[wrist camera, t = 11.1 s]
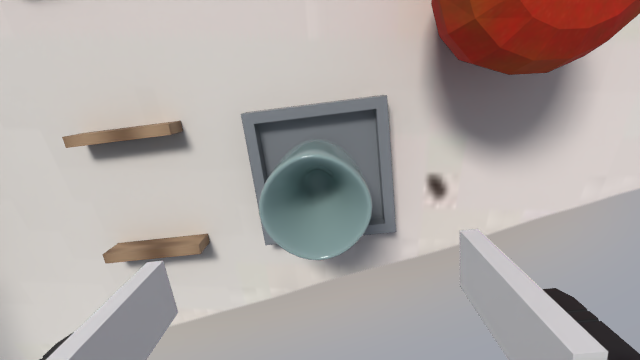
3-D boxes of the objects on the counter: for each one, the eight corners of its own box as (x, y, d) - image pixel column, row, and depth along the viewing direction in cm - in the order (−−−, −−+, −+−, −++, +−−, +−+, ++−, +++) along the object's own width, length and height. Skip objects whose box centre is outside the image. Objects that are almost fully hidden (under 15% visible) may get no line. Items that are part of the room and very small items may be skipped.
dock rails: (120, 251, 35) (105, 263, 33) (82, 133, 32) (62, 137, 29) (209, 242, 35) (200, 253, 32) (180, 120, 31) (168, 123, 29)
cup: (314, 115, 30) (308, 129, 20) (375, 168, 31) (396, 205, 22) (263, 176, 32) (235, 215, 22) (323, 224, 33) (321, 280, 24)
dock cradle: (269, 236, 34) (265, 245, 32) (246, 112, 31) (240, 114, 29) (392, 223, 33) (396, 231, 31) (383, 95, 30) (386, 95, 28)
